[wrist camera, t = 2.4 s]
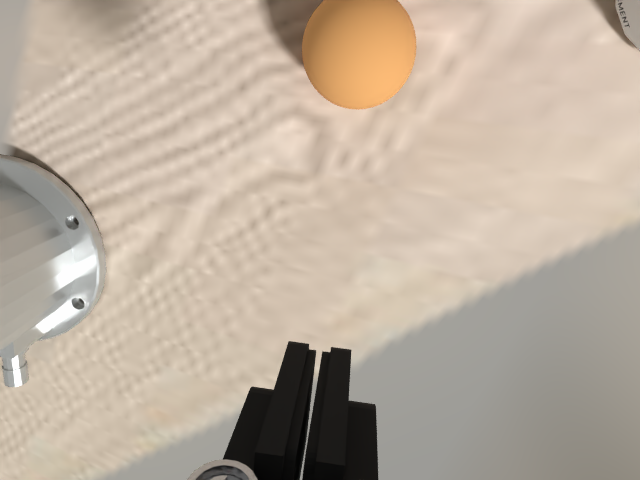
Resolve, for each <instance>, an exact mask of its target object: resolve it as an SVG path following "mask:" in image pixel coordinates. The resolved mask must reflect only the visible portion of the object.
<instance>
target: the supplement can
mask: <svg viewBox="0 0 640 480" xmlns="http://www.w3.org/2000/svg"><path fill="white" fill-rule="evenodd" d="M615 7H616V10H617V13H618V16H619V19H620V22H621V25H622V28H623V31H624V33H625V35H626V36H627V38H628V39H629V40H630V41H631V42H632V43H633V44H634V45H635V46H636V47H637V48H638V49H639V51H640V0H616V5H615Z"/></svg>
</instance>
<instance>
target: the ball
mask: <svg viewBox="0 0 640 480" xmlns="http://www.w3.org/2000/svg"><path fill="white" fill-rule="evenodd" d="M415 56H416V36H415V30H414V27H413V24H412V21H411V19H410V17H409V15H408V13H407V12H406V10H405V9H404V7H403V6H402V5H401V4H400V3H399V2H398V1H397V0H324V1H323V2H322V3H321V4H320V5H319V6H318V7H317V8H316V10H315V11H314V12H313V14H312V15H311V17H310V19H309V21H308V23H307V26H306V28H305V32H304V35H303V42H302V58H303V63H304V68H305V71H306V73H307V76H308V78H309V80H310V82H311V83H312V85H313V86H314V88H315V89H316V90H317V91H318V92H319V93H320V94H321V95H322V96H323V97H324V98H325V99H327V100H328V101H330V102H331V103H333V104H336V105H338V106H341V107H344V108H348V109H367V108H371V107H374V106H377V105H380V104H382V103H383V102H385V101H387V100H388V99H390V98H391V97H393V96H394V95H395V94H396V93H397V92H398V91H399V90H400V89H401V87H402V86H403V85H404V83H405V82H406V80H407V79H408V77H409V75H410V73H411V70H412V68H413V65H414V61H415Z"/></svg>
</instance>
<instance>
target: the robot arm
mask: <svg viewBox="0 0 640 480" xmlns="http://www.w3.org/2000/svg"><path fill="white" fill-rule="evenodd" d="M105 276H106V257H105V250H104V246H103V242H102V238H101V235H100V233H99V230H98V228H97V226H96V224H95V221H94V219H93V217H92V216H91V214H90V213H89V211H88V210H87V208H86V207H85V205H84V204H83V202H82V201H81V200H80V199H79V198H78V196H77V195H76V194H75V193H74V192H73V191H72V190H71V189H70V188H69V187H68V186H67V185H66V184H65V183H63V182H62V181H61V180H60V179H58V178H57V177H56V176H55V175H53V174H52V173H50V172H48V171H47V170H45V169H43V168H41V167H40V166H38V165H36V164H34V163H31V162H29V161H26V160H23V159H20V158H17V157H13V156H7V155H1V154H0V357H2V361H3V366H2V370H3V377H4V383H5V386H8V387H17V386H20V385H23V384H24V383H26V382H27V381H28V380H29V374H28V366H27V361H26V359H25V352H26V351H27V350H28V349H29V346H30V345H32V344H33V343H34V342H36V341H41V340H46V339H51V338H54V337H56V336H59V335H61V334H64V333H66V332H67V331H69V330H70V329H72V328H73V327H74V326H76V325H77V324H78V323H80V322H81V321H82V320H83V319H84V318H85V317H86V316H87V315H88V314H90V312H91V311H92V309H93V308H94V306H95V305H96V304H97V302H98V300H99V298H100V295H101V293H102V290H103V288H104V282H105ZM315 357H316V350H309V344H305V343H298V342H291V341H289V342H288V345H287V349H286V352H285V355H284V358H283V362H282V365H281V368H280V372H279V375H278V378H277V381H276V385H275V388H274V390H272V389H265V388H258V387H251V388H250V391H249V393H248V395H247V398H246V401H245V403H244V406H243V408H242V411H241V414H240V416H239V419H238V422H237V424H236V427H235V429H234V432H233V434H232V437H231V439H230V442H229V445H228V447H227V450H226V452H225V455H224V458H223V460H215V461H212V462H209V463H206V464H204V465H202V466H201V467H199V468H198V469H196V470H195V471H194V472H193V473H192V474H191V475H190V477H189V478H188V479H187V480H300V474H301V468H302V461H303V456H304V450H305V443H306V437H307V429H308V420H309V411H310V402H311V393H312V384H313V375H314V366H315ZM350 364H351V350H349V349H341V348H334V347H331V352H322V358H321V364H320V370H319V376H318V382H317V388H316V394H315V400H314V406H313V413H312V418H311V424H310V431H309V437H308V443H307V449H306V455H305V463H304V471H303V479H302V480H378V457H377V428H376V427H377V426H376V406H375V404H368V403H362V402H354V401H348V400H349V382H350V380H349V379H350Z"/></svg>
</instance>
